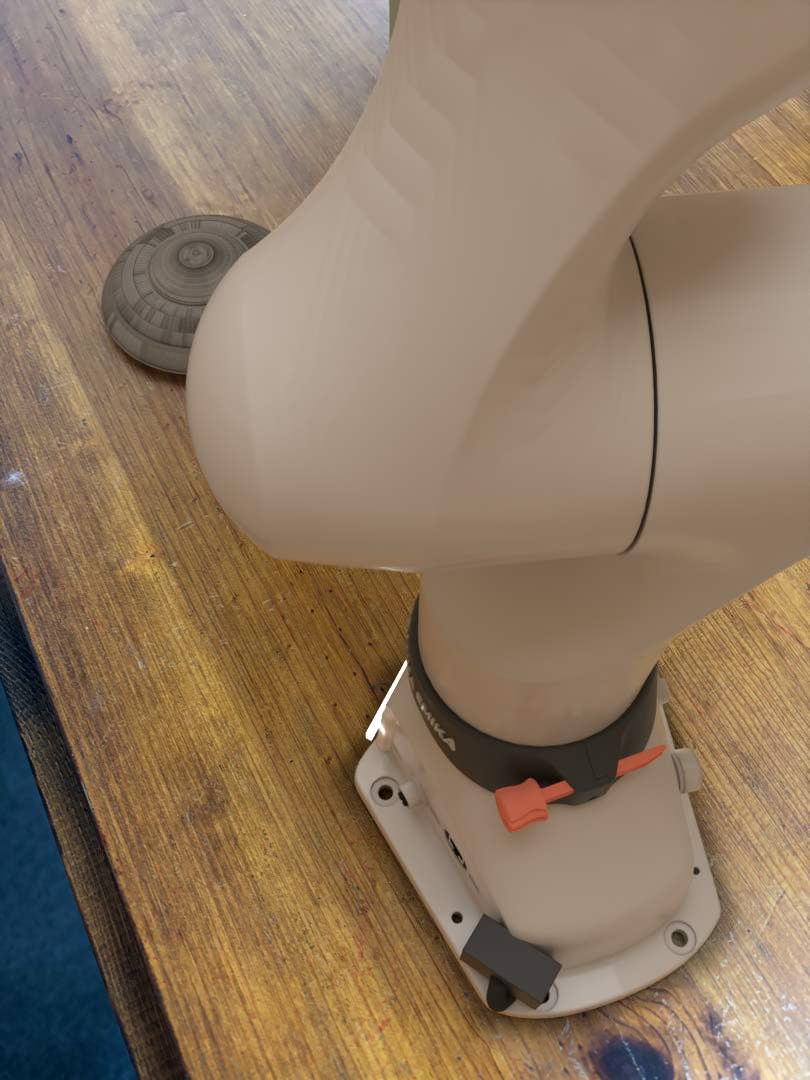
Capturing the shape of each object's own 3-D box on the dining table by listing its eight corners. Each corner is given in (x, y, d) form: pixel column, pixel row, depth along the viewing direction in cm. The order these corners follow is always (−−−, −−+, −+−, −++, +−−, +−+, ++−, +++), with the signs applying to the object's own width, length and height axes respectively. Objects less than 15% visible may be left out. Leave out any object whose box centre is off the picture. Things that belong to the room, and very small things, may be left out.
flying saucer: (81, 269, 80) (61, 214, 76) (266, 210, 84) (258, 153, 79) (142, 415, 74) (125, 365, 69) (341, 345, 77) (337, 293, 72)
